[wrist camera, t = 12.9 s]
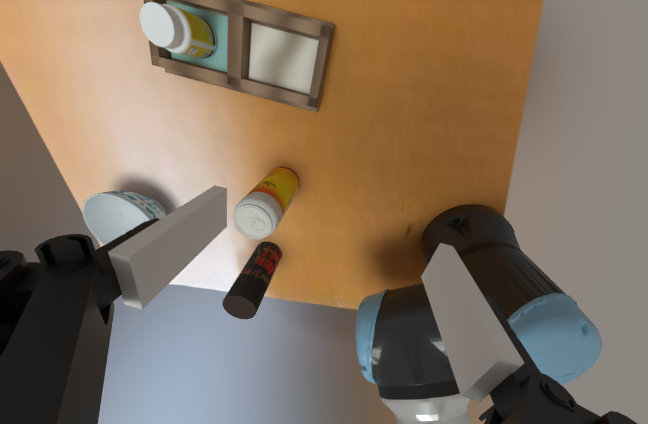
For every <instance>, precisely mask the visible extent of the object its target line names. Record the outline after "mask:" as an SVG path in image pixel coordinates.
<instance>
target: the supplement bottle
mask: <svg viewBox="0 0 648 424" xmlns="http://www.w3.org/2000/svg"><path fill="white" fill-rule="evenodd" d="M140 24H141V27H142V29H143V32H144V34H145V35H146V37H147V38H148V39H149V40H150V41H151V42H152V43H153V44H155V45H157V46H159V47H163V48H165V49H167V50H168V51H170V52H172V53H176V54H181V55H187V56H193V57H198V58H209V57H211V56H212V55H213V54H214V52H215V50H216V46H217V39H216V34H215V32H214V30H213V28H212V26H211V25H210V24H209V23H208V22H207V21H206V20H205V19H203V18H201V17H199V16H196V15H194V14H192V13H189V12H187V11H185V10H183V9H180V8H178V7H176V6H173V5H170V4H162V5H161V4H158V3H155V2H148V3H146V4H144V5H143V6H142V8H141V11H140Z"/></svg>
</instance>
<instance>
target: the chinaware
mask: <svg viewBox="0 0 648 424" xmlns="http://www.w3.org/2000/svg"><path fill="white" fill-rule="evenodd" d="M165 216H167V212H166V210H165V208H164V207H163V205H162V204H161V203H159V202H158V201H157V200H155V199H153V198H149V197H146V196H143V195H141V194H138V193H134V192H128V191H110V192H103V193H98V194H95V195H92V196H90V197H89V198H87V199H86V201H85V202H84V205H83V217H84V220H85V222H86V224H87V226H88V228H89V230H90V231H91V232H92V233H93V235H94V236H95V237H96V238H97V239H98V240H99V241H100V242H101V243H102V244H103V245H106V244H107V243H109V242H111V241H112V240H114V239H116V238H118V237H119V236H121V235H124V234H125V233H126V232H128V231H129V230H131V229H132V230H133V228H135V227H136V226H138V225H140V224H141V223H143V222H146V221H149V220H152V219H155V218H158V219H162V218H163V217H165Z"/></svg>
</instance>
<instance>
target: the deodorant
mask: <svg viewBox="0 0 648 424" xmlns="http://www.w3.org/2000/svg"><path fill="white" fill-rule="evenodd" d="M281 256H282V253H281V250H280V248H279V247H278V246H277V245H275V244H273V243H271V242H262V243H260V244H259V245H258V246H257V248H256V249H255V251H254V252H253V254H252V256H251V257H250V259H249V260H248V262H247V264H246V265H245V267H244V268H243V270H242V271H241V273H240V275H239V276H238V278H237V279H236V281H235V282H234V284H233V286H232V287H231V289H230V290H229V292H228V294H227V295H226V297H225V298H224V300H223V307H224V309H225V310H226V311H227V312H228V313H229V314H231V315H232V316H234V317H237V318H240V319H250V318H252V317H253V316H255V314H256V312H257V310H258V308H259V305H260V303H261V301H262V299H263V296H264V294H265V292H266V290H267V288H268V285H269V283H270V281H271V279H272V276H273V274H274V272H275V270H276V268H277V265H278V263H279V261H280V259H281Z"/></svg>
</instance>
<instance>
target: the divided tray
mask: <svg viewBox="0 0 648 424" xmlns="http://www.w3.org/2000/svg"><path fill="white" fill-rule="evenodd" d="M148 2H155V3H158V4H161V5H162V4H170V5H173V6H176V7H178V8H180V9H183V10H185V11H187V12H189V13H192V14H194V15H196V16H199V17H201V18H203V19H205V20H206V21H207V22H208V23H209V24H210V25H211V26H212V28H213V30H214V32H215V34H216V39H217V46H216V50H215V52H214V54H213V55H212V56H211V57H209V58H198V57H193V56H187V55H181V54H176V53H172V52H170V51H168V50H167V49H165V48H163V47H159V46H157V45H155V44H153V43H152V42H151V41H150V40H149V45H150V52H151V60H152V65H155V66H159V67H163V68H165V72H167V73H171V74H175V75H179V76H182V77H186V78H190V79H194V80H197V81H201V82H205V83H209V84H212V85H216V86H220V87H224V88H227V89H231V90H235V91H239V92H243V93H246V94H250V95H254V96H258V97H261V98H265V99H269V100H273V101H276V102H280V103H284V104H288V105H291V106H295V107H299V108H303V109H306V110H310V111H314V112H318V110H319V105H320V100H321V95H322V89H323V84H324V79H325V74H326V69H327V64H328V59H329V54H330V49H331V44H332V39H333V34H334V29H335V24H332V23H329V22H325V21H321V20H317V19H314V18H310V17H306V16H302V15H299V14H295V13H291V12H287V11H283V10H280V9H276V8H272V7H268V6H265V5H261V4H257V3H253V2H249V1H246V0H144V4H146V3H148Z"/></svg>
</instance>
